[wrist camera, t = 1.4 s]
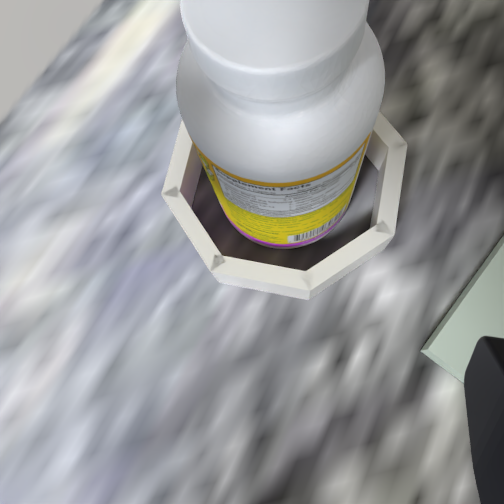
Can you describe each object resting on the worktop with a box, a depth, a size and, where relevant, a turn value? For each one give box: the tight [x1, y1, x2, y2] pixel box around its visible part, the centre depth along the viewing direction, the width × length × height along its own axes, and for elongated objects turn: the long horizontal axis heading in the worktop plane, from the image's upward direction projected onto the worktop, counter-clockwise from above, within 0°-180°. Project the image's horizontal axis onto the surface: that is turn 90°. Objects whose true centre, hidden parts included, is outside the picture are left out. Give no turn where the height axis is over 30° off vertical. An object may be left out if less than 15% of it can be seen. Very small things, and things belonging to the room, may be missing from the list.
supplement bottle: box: [176, 0, 385, 249], centre depth 17 cm, size 7×7×13 cm
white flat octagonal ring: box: [161, 111, 407, 300], centre depth 22 cm, size 11×11×2 cm
